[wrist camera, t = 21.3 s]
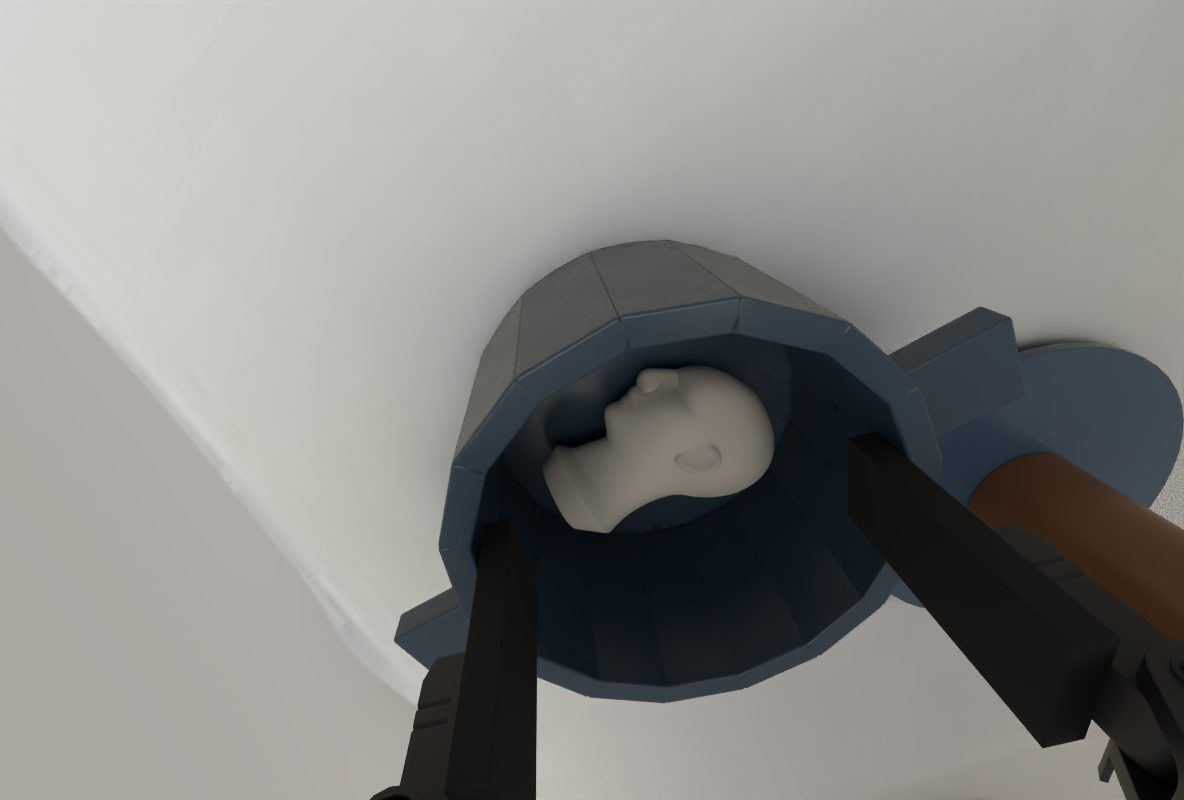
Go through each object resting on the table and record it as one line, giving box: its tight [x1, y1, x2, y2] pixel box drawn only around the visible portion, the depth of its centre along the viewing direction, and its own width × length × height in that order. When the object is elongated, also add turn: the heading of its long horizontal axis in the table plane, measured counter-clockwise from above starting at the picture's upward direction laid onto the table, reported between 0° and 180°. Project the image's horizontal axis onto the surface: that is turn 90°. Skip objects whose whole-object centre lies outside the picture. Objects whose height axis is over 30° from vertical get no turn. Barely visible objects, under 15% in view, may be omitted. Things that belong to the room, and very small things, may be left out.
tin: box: [394, 240, 1026, 703], centre depth 17 cm, size 13×18×8 cm
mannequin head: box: [543, 365, 774, 533], centre depth 18 cm, size 4×8×5 cm
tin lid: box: [891, 342, 1184, 641], centre depth 19 cm, size 14×14×9 cm
